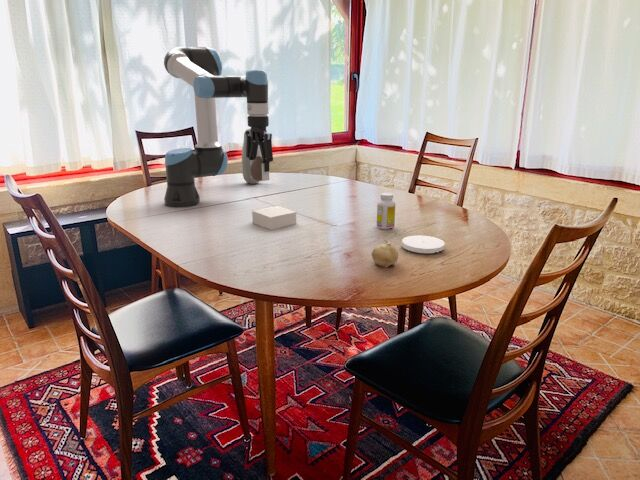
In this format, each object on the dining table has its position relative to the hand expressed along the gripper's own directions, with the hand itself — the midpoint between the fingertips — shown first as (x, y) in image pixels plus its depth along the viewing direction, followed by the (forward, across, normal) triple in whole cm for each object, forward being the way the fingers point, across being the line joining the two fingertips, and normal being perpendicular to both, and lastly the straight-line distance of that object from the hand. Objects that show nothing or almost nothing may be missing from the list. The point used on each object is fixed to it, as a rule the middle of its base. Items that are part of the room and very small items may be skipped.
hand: (260, 178), depth 188 cm
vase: (+1, 0, 0) cm, 1 cm away
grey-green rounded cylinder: (+17, -64, +37) cm, 76 cm away
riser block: (+18, +2, +4) cm, 18 cm away
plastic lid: (+19, +57, +27) cm, 65 cm away
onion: (+18, +59, +6) cm, 62 cm away
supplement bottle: (+18, +33, +34) cm, 50 cm away
